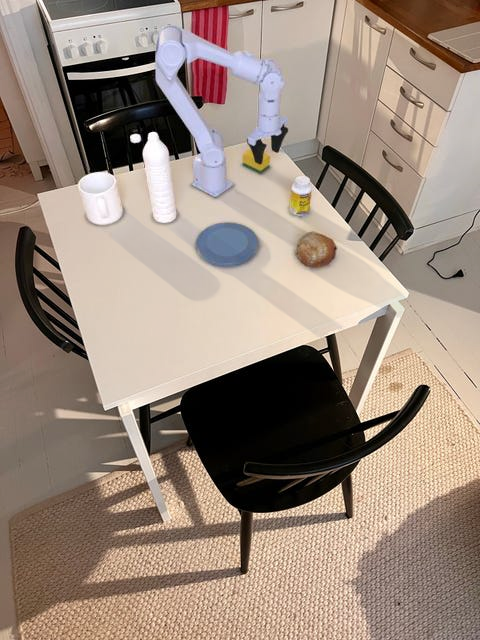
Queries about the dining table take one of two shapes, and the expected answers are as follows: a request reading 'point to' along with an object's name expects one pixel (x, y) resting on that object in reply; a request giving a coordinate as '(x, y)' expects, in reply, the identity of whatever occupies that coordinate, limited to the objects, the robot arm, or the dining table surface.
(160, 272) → the dining table surface
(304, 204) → the supplement bottle
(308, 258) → the bread roll
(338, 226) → the dining table surface
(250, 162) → the sponge
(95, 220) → the mug
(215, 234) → the plate
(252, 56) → the robot arm
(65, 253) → the dining table surface
